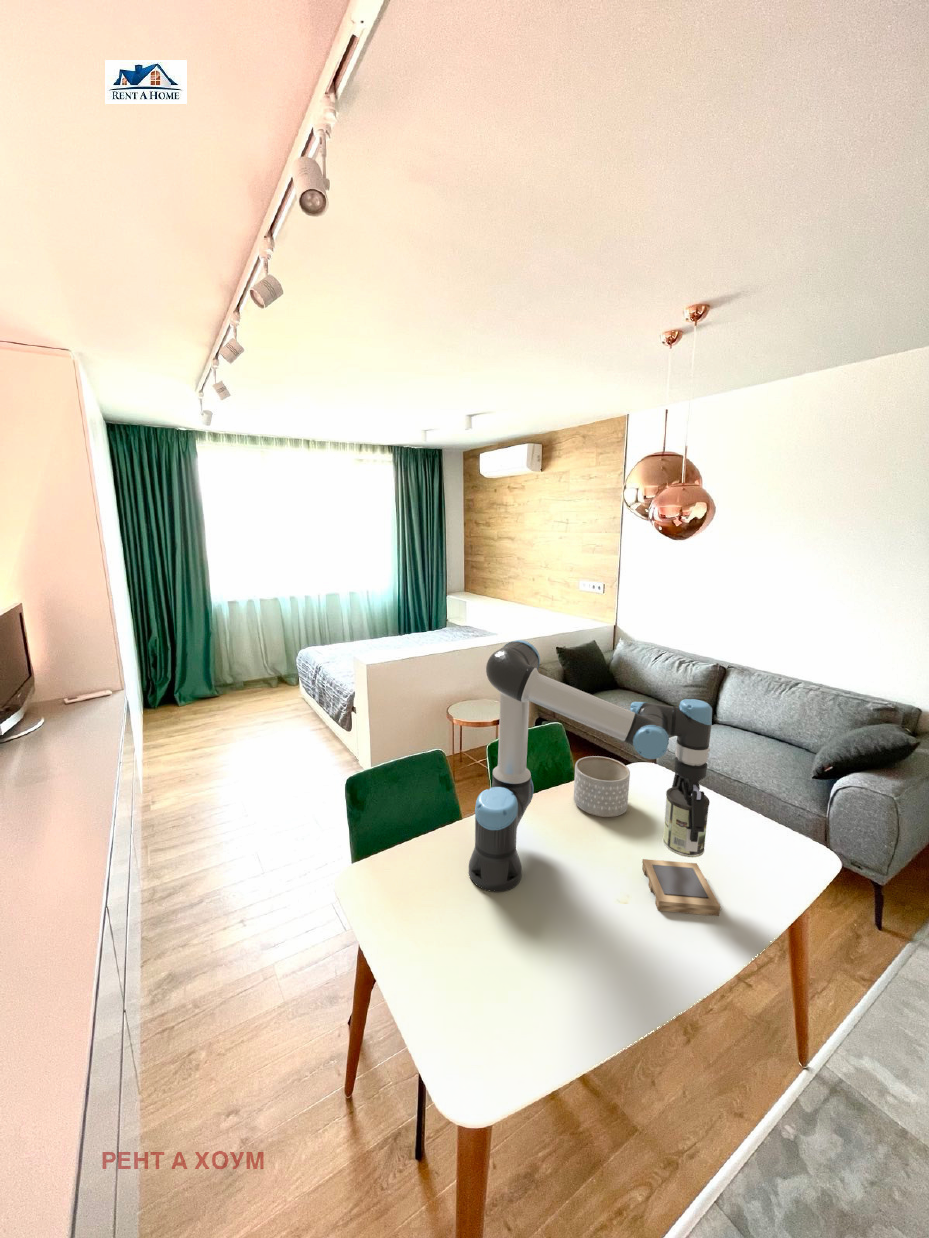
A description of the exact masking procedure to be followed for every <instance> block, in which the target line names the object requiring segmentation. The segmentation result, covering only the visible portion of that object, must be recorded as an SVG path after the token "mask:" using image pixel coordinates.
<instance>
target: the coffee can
mask: <svg viewBox="0 0 929 1238" xmlns="http://www.w3.org/2000/svg"><path fill="white" fill-rule="evenodd" d="M665 794H666V799H665V800H666V801H665V809H664V810H665V812H664V823H663V835H662V836H663V837H662V843H663V844H664V846H665V848H667V849H668V851H670V852H672V853H674V854H676V855H679V856H682V857H687V858H698V857H701V856H703V854H704V853H705V844H706V834H707V824H708V817H709V808H710V798H709V797H708V796H707V795H705V794H704V801H703V802H704V832H699V838H698V848H697V852H693V851H686V850H685V844H686V833H687V828H686V826H689V820H688V816H689V810H691V811H692V806H689V805H688V804H687V801H686V800H685V799H684V791H679V790H678V789H677V787H672V786H671V787H669V788H668V789H667V790H666V793H665ZM688 797H692V796H688Z"/></svg>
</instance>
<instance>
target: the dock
mask: <svg viewBox="0 0 929 1238" xmlns="http://www.w3.org/2000/svg"><path fill="white" fill-rule="evenodd" d="M641 864H642V866H641V869H642V872H643V876H647V878H648V888H649V891H650V892H651V893H654V894H653V895H654V897H655V902H654V904H655V906H656V909H657V911H661V912H670V913H671V912H673V913H684V914H694V915H704V916H705V915H706V916H715V917H719V916H720V911H721V908H722V906H721V904H720V903H719V901H718V899H717V898H716V895H715V893H714V892H713V890H712V889H711V887H710V885H709V883H708V881H707V879H706V877H705V876H704V873H703V872H702V869H701V868H700V867H699V865H698V863H696V862H695V863H694V862H683V861H671V860H658V859H647V858H643V859H642V862H641Z"/></svg>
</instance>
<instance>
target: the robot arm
mask: <svg viewBox="0 0 929 1238" xmlns="http://www.w3.org/2000/svg"><path fill="white" fill-rule="evenodd" d="M540 664H541V656H540V653H539V651H538V649H537V648H536V647H535V646H534V645H533V644H532V643H530V641H529V642H528V641H526V640H522V639H520V640H519V639H516V640H513V641H509V642H507V643H505V644H504V646H502V647H501V648H499V649H497V650H496V651H494V652H493V653H492V654H491V655H490V656H489V658H488V660H487V662H486V666H485V673H486V677H487V679H488V682H489V683H490V685H491V686H493V687H494V689H496V690H497V691H499V693H500V695H499V696H500V697H499V699H500V700H499V725H498V749H497V750H498V751H497V752H498V754H497V766H495V767H494V768H493V769H492V781H491V782H492V783H491V787H490V788H488V789H486V788H485V790H482V791H481V792H480V793H479V794H478V796H477V798H476V801H475V806H474V807H475V809H474V814H475V816H474V819H475V822H474V833H475V834H474V842H475V843H474V849H473V850H472V853H471V857H470V858H469V862H468V876H470V877H469V879H470V878H471V879H472V880H473V882H474V883H476V884H477V885H478V886H480V887H482V888H483V889H482V888H481V889H482V890H484V889H486V890H485V891H487V890H490V891H489V892H495V893H496V892H506V891H509V890H512V889H513V888H515V887H516V886H517V885H519V883H520V881H521V879H522V871H523V870H522V863H521V860H520V857H519V853H518V851H517V831H518V826H519V825H520V822H521V821H522V819H523V816H524V814H525V812H526V811H527V808H528V807H529V805H530V804H531V802H532V800H533V795H534V789H535V788H534V783H533V780H532V776H531V775H532V774H531V771H530V770H529V769H528V767H527V760H528V759H527V756H528V740H529V739H528V737H529V716H530V715H529V714H530V712H529V711H530V702H531V703H534V704H536V705H538V706H541V707H543V708H544V709H547V710H548V711H549V710H550V711H552V712H554V713H557V714H559V715H561V716H564V717H566V718H568V719H570V720H573V721H575V722H578V723H579V724H582V725H584V726H587V727H588V728H591V729H594V730H596V731H598V732H601V733H602V734H605V735H607V736H610V737H613V738H615V739H617V740H619V741H621V742H623V743H626V744H628V745H630V746H633V748H634V750H635V751H636V752H637V754H638V755H639V756H641V757H642V758H645V759H648V760H656V759H660V758H661V757H663V756H664V755H665V754H666V752H667V751H668V746H669V743H670V742H669V741H670V737H671V736H672V737H676V740H675V741H676V742H675V751H674V752H675V753H674V754H675V758H674V767H673V770H674V776H673V781H672V785H671V788H672V787H677V789H678V790H679V791H684V799H685V800H686V801H687V804H688V805H689V806H692V811H691V810H689V816H688V820H689V826H686V828H687V833H686V844H685V850H686V851H693V852H697V848H698V838H699V832H704V802H703V801H704V795H705V792H704V791H703V790H702V791H701V790H700V789H701V786H700V783H699V782H700V781H701V780H703V779H705V778H706V777H707V770H708V769H707V768H708V760H709V759H708V758H709V757H708V756H709V753H710V752H711V749H710V740H711V732H712V726H713V724H712V721H713V720H712V719H713V707H712V706H711V705H710V704H709V703H708V702H706V701H704V700H700V699H694V698H691V699H688V698H685V699H682V700H681V701H680V702H679V705H678V706H672V705H665V704H658V703H650V702H647V701H643V702H642V701H633V702H631V704H630V708H629V709H626V708H624V707H621V706H619V705H617V704H614V703H612V702H609V701H607V700H605V699H602V698H599V697H597V696H595V695H592V694H591V693H588V692H585V691H584V690H583V691H582V690H580V689H578V688H576V687H573V686H570V685H568V684H566V683H563V682H561V681H559V680H556V679H553V678H551V677H548V676H546V675H545V674H541V673H539V667H540ZM688 796H692V797H688ZM471 879H470V880H471ZM472 880H471V881H472ZM473 882H472V883H473ZM474 883H473V884H474ZM477 885H476V886H477ZM478 886H477V887H478ZM480 887H479V888H480Z"/></svg>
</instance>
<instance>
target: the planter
mask: <svg viewBox="0 0 929 1238" xmlns="http://www.w3.org/2000/svg"><path fill="white" fill-rule="evenodd" d="M630 777H631V771H630V769H629V768H628V766H627V765H625V764H624V763H623V762H622V761H619V760H617V759H614V758H612V757H611V758H610V757H606V756H599V755H597V756H596V755H595V756H594V755H592V756H591V755H590V756H585V757H582V758H579V759H578V760H577V761H576V762H575V765H574V781H573V783H574V784H573V801H574V803H575V805H576V806H577V807H578V808H580V810H583V812H586V813H587V814H590V815H591V816H595V817H599V818H600V817H601V818H612V817H617V816H620V815H622V814H624V813H625V812H626V811H627V810H628V806H629V805H628V804H629V802H628V801H629V791H630V781H631V780H630Z"/></svg>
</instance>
